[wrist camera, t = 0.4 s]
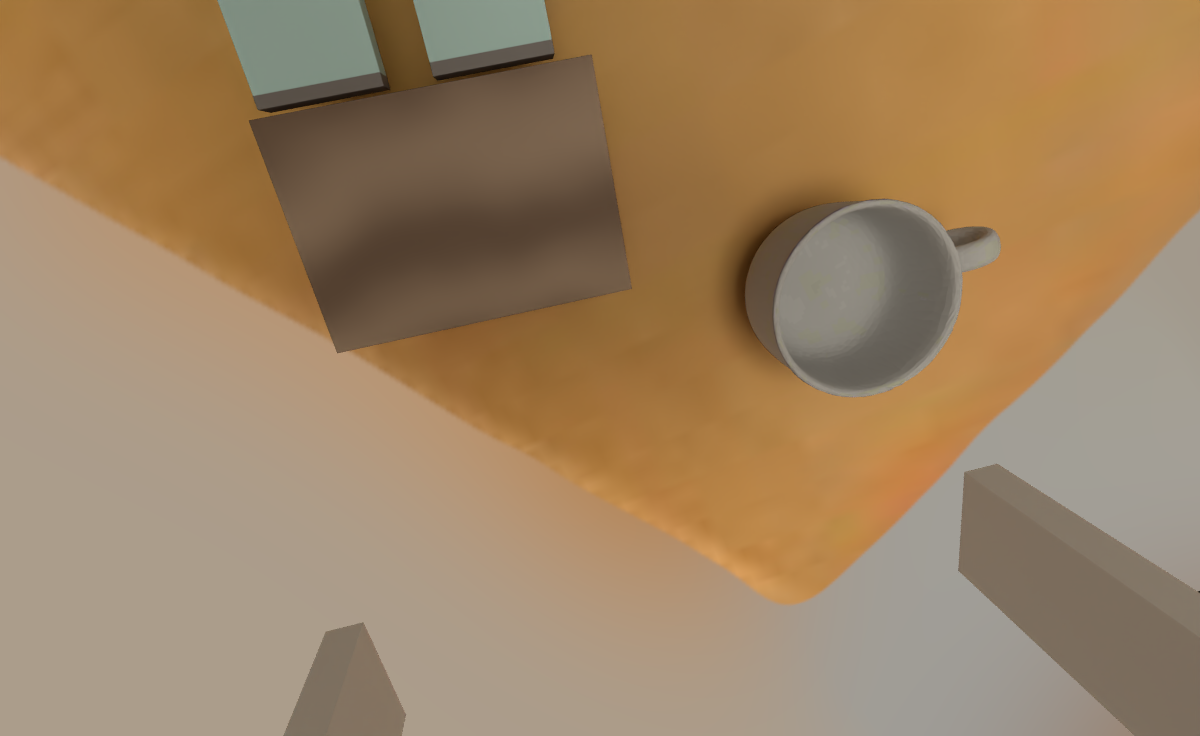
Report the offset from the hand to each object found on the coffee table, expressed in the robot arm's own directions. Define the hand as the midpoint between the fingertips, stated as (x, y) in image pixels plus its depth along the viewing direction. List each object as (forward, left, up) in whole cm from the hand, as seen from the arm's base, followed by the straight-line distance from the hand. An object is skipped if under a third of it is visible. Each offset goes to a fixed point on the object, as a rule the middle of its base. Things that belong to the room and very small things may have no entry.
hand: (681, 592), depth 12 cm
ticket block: (-8, -5, -26) cm, 27 cm away
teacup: (+1, +17, -26) cm, 31 cm away
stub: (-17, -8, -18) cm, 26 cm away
